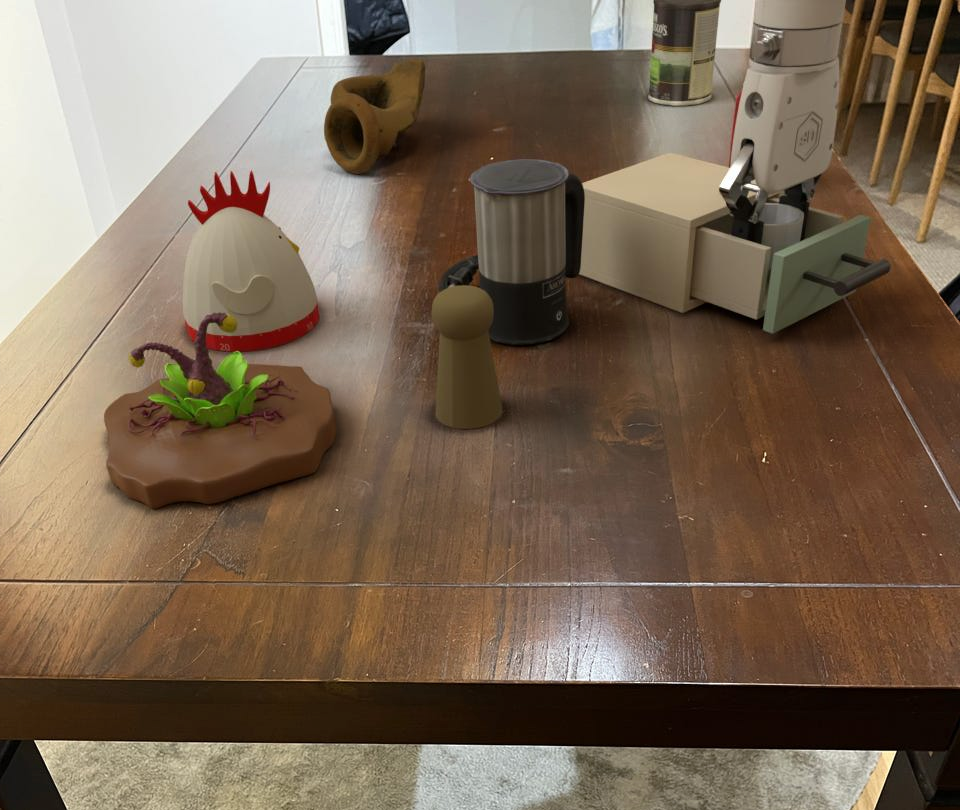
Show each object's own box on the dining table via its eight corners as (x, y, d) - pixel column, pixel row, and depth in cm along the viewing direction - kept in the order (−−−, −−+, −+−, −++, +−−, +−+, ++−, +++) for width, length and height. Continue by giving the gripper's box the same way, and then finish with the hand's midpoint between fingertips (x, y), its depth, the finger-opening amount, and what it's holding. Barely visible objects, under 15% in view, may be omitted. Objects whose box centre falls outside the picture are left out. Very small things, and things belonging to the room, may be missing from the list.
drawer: (899, 305, 100) (917, 229, 95) (815, 349, 93) (830, 270, 88) (741, 255, 111) (750, 184, 106) (658, 291, 105) (663, 219, 100)
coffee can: (656, 108, 160) (662, 5, 151) (641, 92, 168) (646, -7, 158) (720, 103, 160) (730, -1, 151) (702, 87, 168) (710, -12, 159)
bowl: (766, 243, 104) (772, 198, 101) (810, 262, 100) (817, 215, 97) (720, 258, 102) (725, 212, 99) (762, 277, 98) (768, 230, 95)
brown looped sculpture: (486, 85, 147) (383, 92, 132) (461, 172, 156) (362, 188, 141) (397, 29, 152) (288, 29, 138) (377, 116, 161) (274, 126, 146)
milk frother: (552, 352, 98) (552, 193, 88) (404, 335, 102) (388, 181, 92) (592, 294, 108) (595, 145, 98) (455, 280, 112) (445, 137, 102)
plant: (357, 476, 83) (337, 348, 75) (113, 525, 79) (67, 395, 72) (316, 371, 97) (297, 255, 90) (109, 408, 94) (71, 290, 86)
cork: (469, 389, 93) (462, 271, 86) (516, 409, 90) (513, 289, 82) (421, 413, 90) (409, 293, 83) (468, 436, 87) (460, 313, 79)
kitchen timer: (322, 342, 102) (297, 187, 92) (184, 358, 101) (144, 203, 91) (316, 289, 112) (293, 144, 102) (191, 303, 111) (156, 158, 101)
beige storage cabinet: (773, 271, 110) (786, 182, 103) (682, 313, 103) (690, 220, 97) (664, 236, 119) (670, 152, 113) (574, 272, 112) (575, 185, 106)
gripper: (767, 71, 82) (740, 286, 94) (888, 32, 90) (850, 235, 102) (696, 58, 87) (679, 265, 99) (817, 23, 95) (789, 218, 107)
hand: (766, 248), depth 100 cm, fingers closed on bowl, 6 cm apart
